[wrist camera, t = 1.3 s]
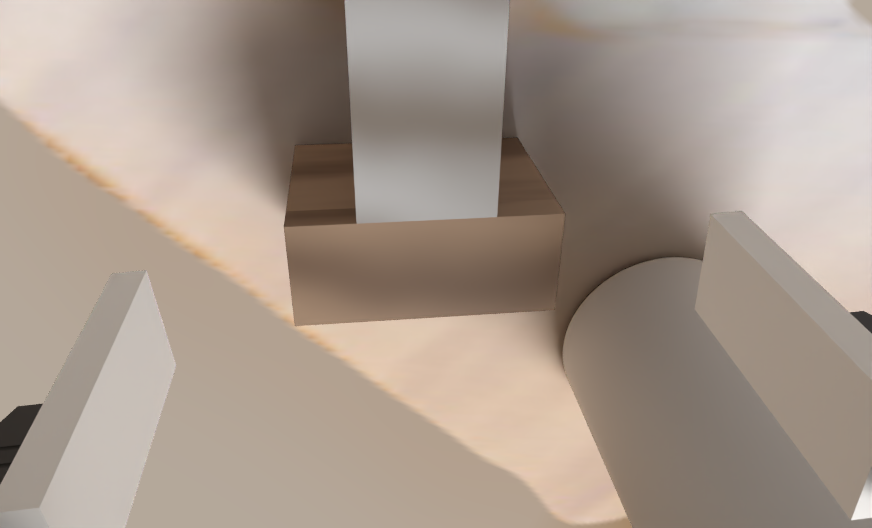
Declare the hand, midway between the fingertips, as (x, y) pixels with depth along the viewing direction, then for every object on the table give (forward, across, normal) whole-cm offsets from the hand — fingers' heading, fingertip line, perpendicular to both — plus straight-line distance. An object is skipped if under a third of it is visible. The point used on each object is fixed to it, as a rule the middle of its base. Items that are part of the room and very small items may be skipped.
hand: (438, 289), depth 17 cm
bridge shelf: (+22, +1, 0) cm, 22 cm away
